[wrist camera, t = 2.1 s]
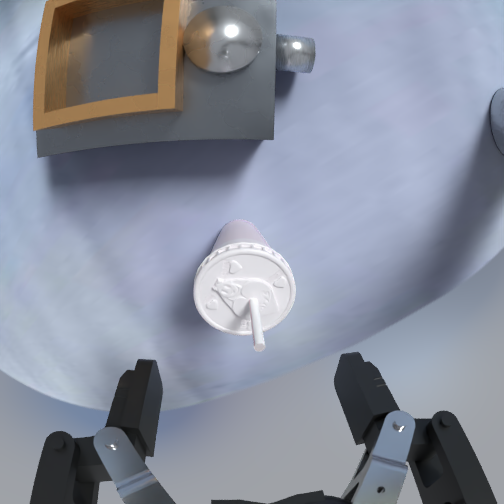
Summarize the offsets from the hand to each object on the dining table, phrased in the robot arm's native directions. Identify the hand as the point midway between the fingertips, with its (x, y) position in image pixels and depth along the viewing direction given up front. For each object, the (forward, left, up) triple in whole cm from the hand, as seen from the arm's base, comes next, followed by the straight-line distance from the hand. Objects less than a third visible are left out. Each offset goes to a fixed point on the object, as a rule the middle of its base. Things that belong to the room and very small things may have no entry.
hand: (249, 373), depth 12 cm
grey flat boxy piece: (+5, -16, -16) cm, 23 cm away
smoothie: (0, 0, -16) cm, 16 cm away
